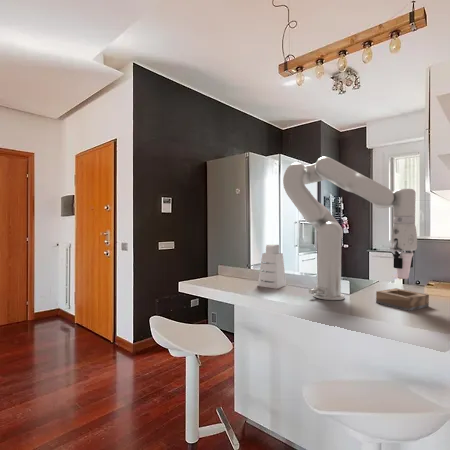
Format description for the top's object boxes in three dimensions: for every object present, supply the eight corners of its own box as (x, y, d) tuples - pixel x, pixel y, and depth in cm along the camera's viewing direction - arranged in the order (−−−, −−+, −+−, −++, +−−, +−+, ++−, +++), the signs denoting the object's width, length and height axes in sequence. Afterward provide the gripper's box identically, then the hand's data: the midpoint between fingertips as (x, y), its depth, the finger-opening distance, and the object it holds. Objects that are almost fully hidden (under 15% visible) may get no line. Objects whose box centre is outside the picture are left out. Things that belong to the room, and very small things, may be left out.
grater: (257, 285, 158) (258, 244, 158) (267, 282, 167) (267, 243, 166) (277, 288, 152) (278, 245, 152) (286, 285, 161) (286, 244, 161)
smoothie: (390, 276, 129) (390, 241, 128) (405, 276, 129) (406, 241, 129) (400, 279, 122) (401, 242, 122) (416, 279, 123) (417, 242, 123)
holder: (409, 310, 117) (409, 298, 117) (376, 302, 128) (376, 291, 128) (428, 306, 124) (428, 294, 124) (395, 299, 135) (395, 288, 135)
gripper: (400, 221, 118) (399, 270, 118) (426, 221, 127) (425, 267, 127) (381, 220, 124) (380, 267, 124) (407, 221, 133) (406, 265, 133)
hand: (403, 267), depth 126 cm, fingers closed on smoothie, 6 cm apart
